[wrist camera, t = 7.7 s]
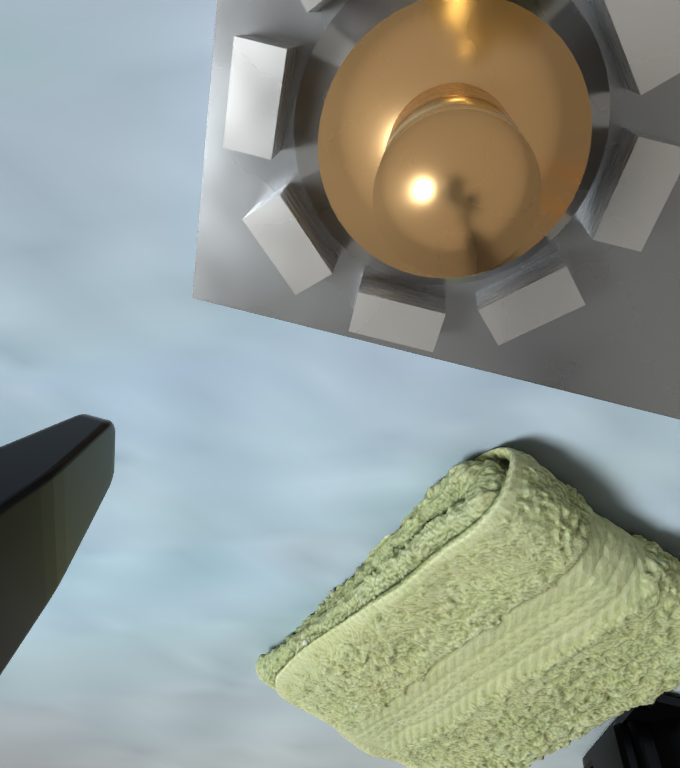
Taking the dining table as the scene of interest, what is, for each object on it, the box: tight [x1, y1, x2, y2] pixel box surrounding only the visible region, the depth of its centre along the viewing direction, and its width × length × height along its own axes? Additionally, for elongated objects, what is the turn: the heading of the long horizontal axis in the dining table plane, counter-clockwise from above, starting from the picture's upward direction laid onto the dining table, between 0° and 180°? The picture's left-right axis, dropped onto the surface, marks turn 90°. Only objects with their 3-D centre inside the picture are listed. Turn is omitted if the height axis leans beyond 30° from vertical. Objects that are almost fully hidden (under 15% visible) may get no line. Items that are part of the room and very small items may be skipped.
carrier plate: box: [192, 0, 680, 419], centre depth 13 cm, size 18×16×5 cm
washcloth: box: [255, 447, 680, 768], centre depth 25 cm, size 13×18×3 cm
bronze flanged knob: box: [318, 0, 592, 278], centre depth 13 cm, size 6×6×6 cm
